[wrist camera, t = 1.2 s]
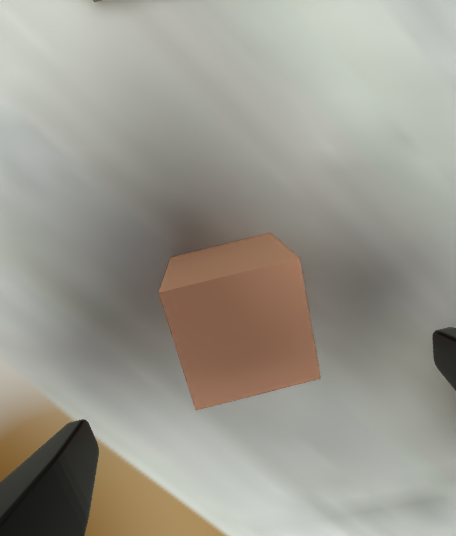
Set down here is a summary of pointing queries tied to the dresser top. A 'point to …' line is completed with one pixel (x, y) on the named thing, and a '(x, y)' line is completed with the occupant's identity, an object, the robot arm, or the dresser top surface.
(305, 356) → the terracotta cube
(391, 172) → the dresser top surface
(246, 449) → the dresser top surface
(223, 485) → the dresser top surface
